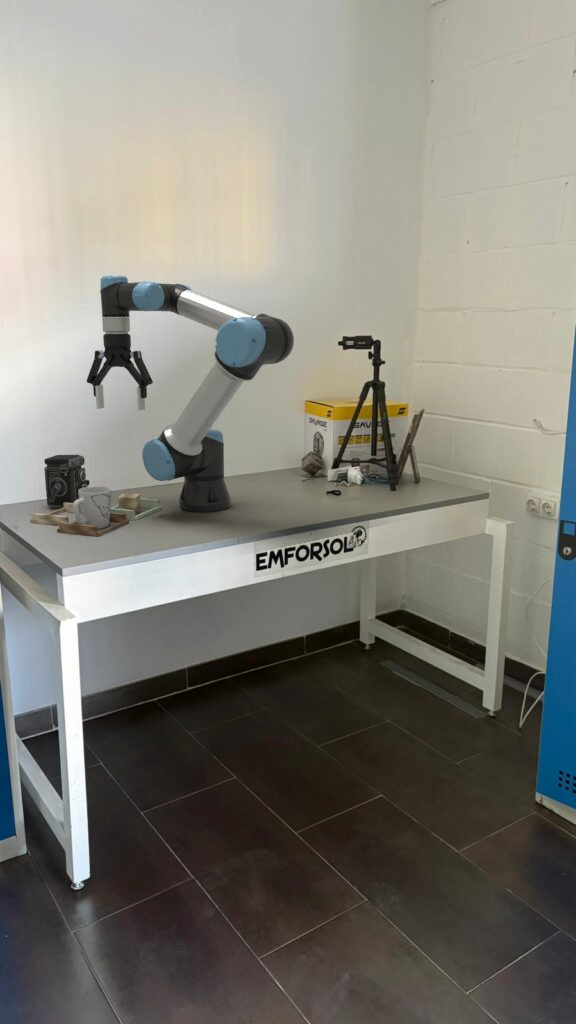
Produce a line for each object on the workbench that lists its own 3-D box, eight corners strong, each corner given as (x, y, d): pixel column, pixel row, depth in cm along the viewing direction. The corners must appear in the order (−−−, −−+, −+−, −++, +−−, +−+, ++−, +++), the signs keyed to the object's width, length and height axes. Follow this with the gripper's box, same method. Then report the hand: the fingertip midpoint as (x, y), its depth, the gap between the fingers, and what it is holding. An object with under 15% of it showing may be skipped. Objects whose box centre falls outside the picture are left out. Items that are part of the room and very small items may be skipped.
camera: (78, 511, 223) (75, 460, 219) (45, 509, 225) (41, 458, 221) (94, 503, 232) (91, 454, 229) (62, 501, 234) (58, 452, 231)
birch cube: (140, 510, 223) (140, 493, 222) (136, 514, 219) (135, 497, 217) (123, 510, 224) (123, 493, 223) (118, 514, 219) (118, 497, 218)
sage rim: (161, 508, 226) (161, 500, 225) (135, 520, 212) (135, 511, 212) (124, 505, 230) (124, 496, 229) (96, 516, 217) (96, 507, 216)
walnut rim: (129, 523, 209) (128, 514, 209) (98, 536, 196) (98, 527, 195) (89, 519, 213) (89, 510, 213) (57, 532, 200) (56, 522, 200)
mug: (86, 534, 198) (84, 496, 196) (64, 529, 203) (62, 492, 200) (119, 525, 207) (117, 488, 205) (98, 520, 212) (96, 484, 210)
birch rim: (100, 514, 219) (100, 505, 218) (69, 526, 206) (69, 517, 205) (63, 510, 223) (62, 502, 223) (30, 522, 210) (29, 513, 209)
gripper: (162, 333, 216) (165, 409, 221) (86, 332, 224) (91, 406, 229) (149, 333, 209) (152, 411, 214) (71, 333, 217) (76, 408, 222)
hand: (120, 409), depth 221 cm, fingers open, 13 cm apart
